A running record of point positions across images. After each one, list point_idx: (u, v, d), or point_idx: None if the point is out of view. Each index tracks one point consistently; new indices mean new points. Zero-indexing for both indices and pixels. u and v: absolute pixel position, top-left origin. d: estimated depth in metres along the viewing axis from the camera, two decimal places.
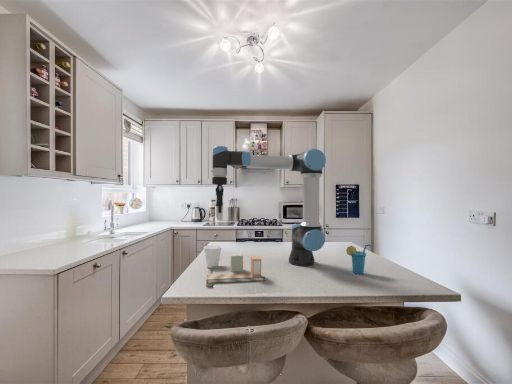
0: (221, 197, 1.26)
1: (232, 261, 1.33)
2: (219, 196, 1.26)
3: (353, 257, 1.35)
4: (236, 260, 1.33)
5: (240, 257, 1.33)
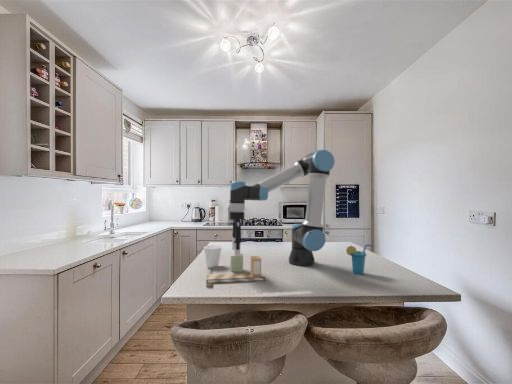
0: (239, 234, 1.27)
1: (232, 261, 1.33)
2: (237, 233, 1.27)
3: (353, 257, 1.35)
4: (236, 260, 1.33)
5: (240, 257, 1.33)
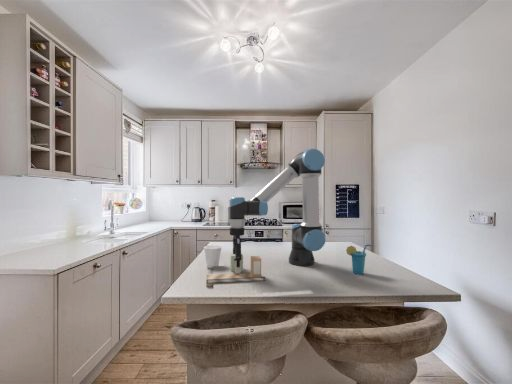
0: (239, 252, 1.27)
1: (232, 261, 1.33)
2: (237, 251, 1.27)
3: (353, 257, 1.35)
4: None
5: None
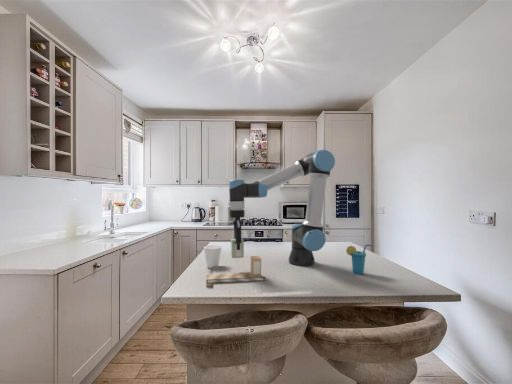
0: (240, 235, 1.29)
1: (233, 245, 1.33)
2: (238, 234, 1.29)
3: (353, 257, 1.35)
4: None
5: (241, 241, 1.33)
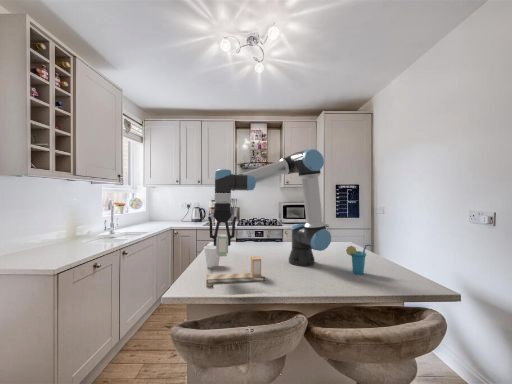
0: None
1: None
2: None
3: (353, 257, 1.35)
4: None
5: None
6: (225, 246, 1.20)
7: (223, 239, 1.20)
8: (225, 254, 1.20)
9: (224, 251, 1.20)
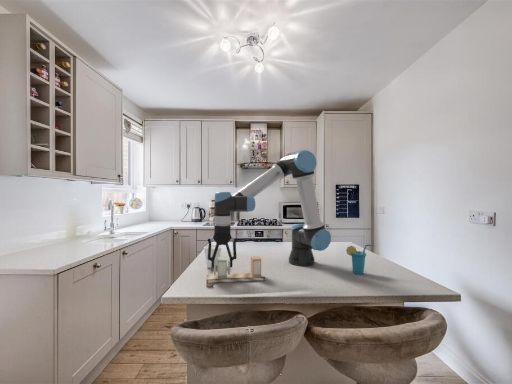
0: (208, 251, 1.21)
1: None
2: (208, 250, 1.22)
3: (353, 257, 1.35)
4: None
5: None
6: (225, 270, 1.20)
7: (223, 262, 1.20)
8: None
9: (224, 274, 1.20)
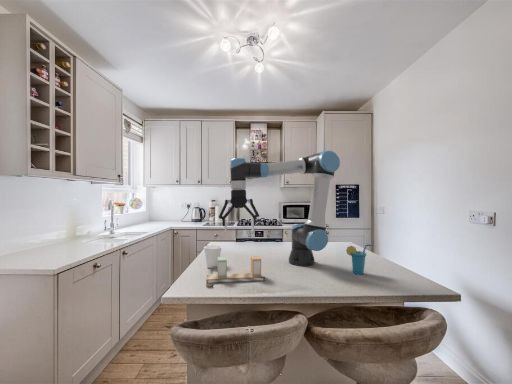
0: (221, 211, 1.29)
1: None
2: None
3: (353, 257, 1.35)
4: None
5: None
6: (225, 270, 1.20)
7: (223, 262, 1.20)
8: None
9: (224, 274, 1.20)
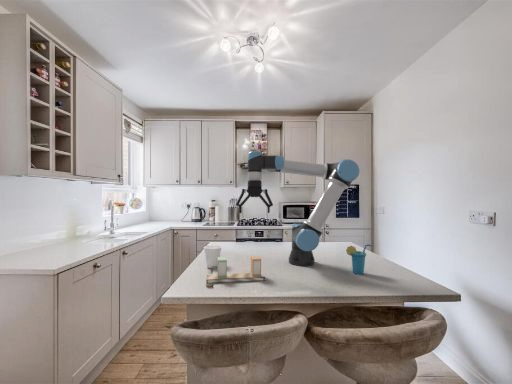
0: (238, 199, 1.41)
1: None
2: None
3: (353, 257, 1.35)
4: None
5: None
6: (225, 270, 1.20)
7: (223, 262, 1.20)
8: None
9: (224, 274, 1.20)
